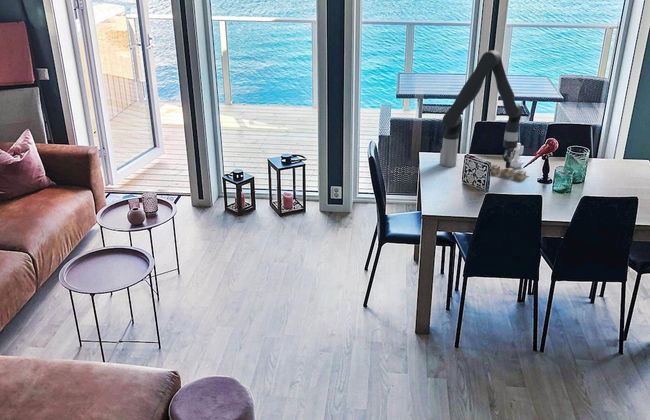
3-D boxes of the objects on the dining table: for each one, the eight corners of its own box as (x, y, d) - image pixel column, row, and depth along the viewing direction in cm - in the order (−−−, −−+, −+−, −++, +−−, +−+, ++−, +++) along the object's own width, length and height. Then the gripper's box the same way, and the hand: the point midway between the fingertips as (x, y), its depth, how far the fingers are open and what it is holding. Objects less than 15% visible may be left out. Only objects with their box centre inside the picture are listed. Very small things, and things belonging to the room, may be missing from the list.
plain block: (500, 175, 358) (501, 168, 357) (504, 173, 362) (504, 166, 360) (508, 177, 355) (509, 170, 354) (512, 175, 359) (513, 168, 357)
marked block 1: (487, 172, 363) (488, 165, 361) (491, 170, 367) (492, 163, 365) (495, 174, 360) (496, 167, 358) (499, 172, 364) (500, 165, 362)
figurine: (515, 163, 379) (518, 140, 373) (524, 168, 371) (528, 144, 365) (505, 165, 377) (508, 141, 371) (514, 169, 369) (517, 145, 363)
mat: (483, 174, 360) (483, 174, 360) (494, 168, 370) (494, 168, 370) (519, 183, 347) (519, 182, 347) (529, 176, 357) (529, 176, 357)
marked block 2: (513, 178, 354) (514, 171, 352) (517, 176, 357) (517, 169, 355) (521, 180, 351) (522, 173, 349) (525, 178, 354) (526, 170, 352)
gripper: (509, 135, 357) (506, 163, 364) (499, 140, 348) (496, 169, 354) (522, 137, 352) (518, 166, 359) (512, 142, 343) (508, 171, 350)
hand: (507, 167), depth 357 cm, fingers closed
